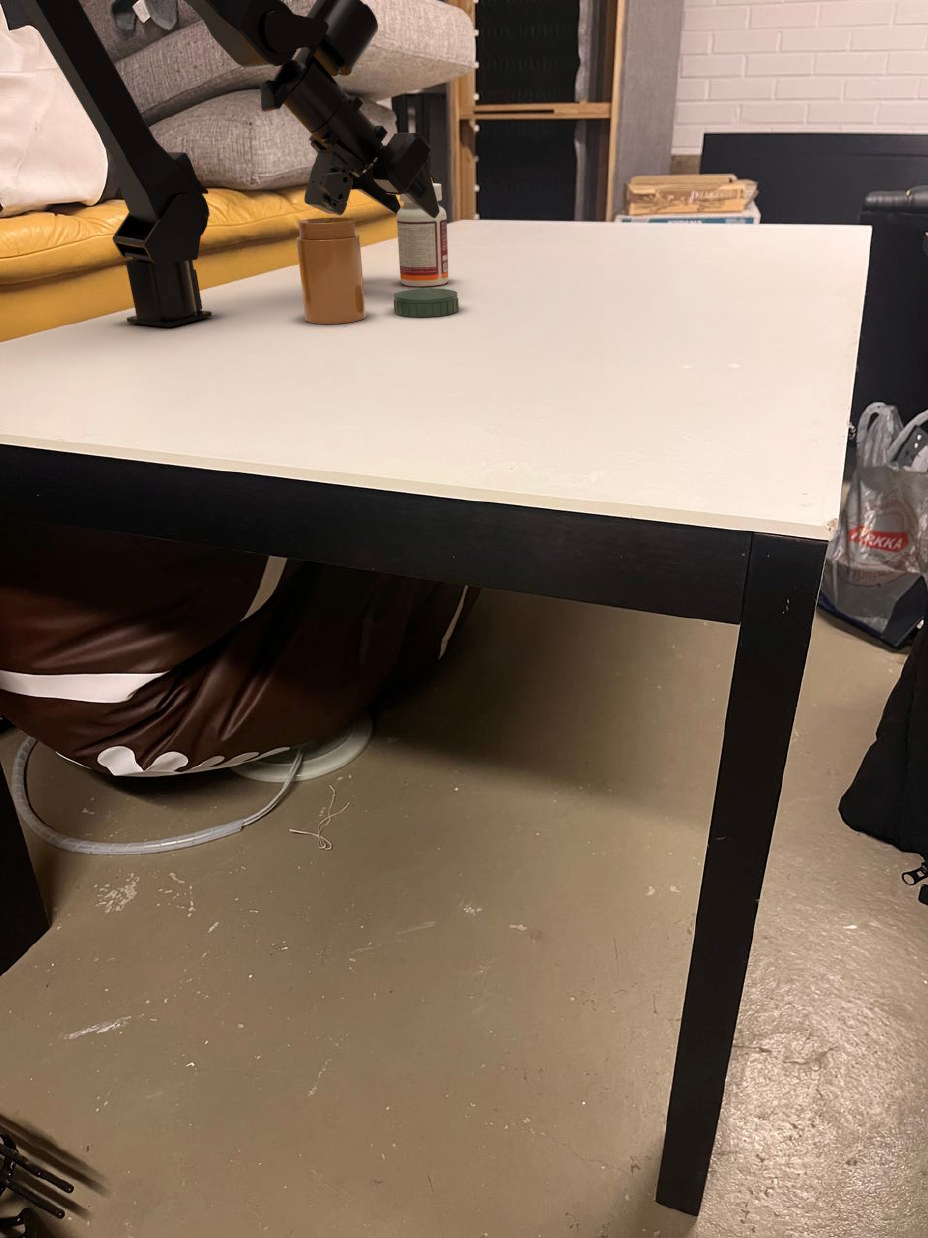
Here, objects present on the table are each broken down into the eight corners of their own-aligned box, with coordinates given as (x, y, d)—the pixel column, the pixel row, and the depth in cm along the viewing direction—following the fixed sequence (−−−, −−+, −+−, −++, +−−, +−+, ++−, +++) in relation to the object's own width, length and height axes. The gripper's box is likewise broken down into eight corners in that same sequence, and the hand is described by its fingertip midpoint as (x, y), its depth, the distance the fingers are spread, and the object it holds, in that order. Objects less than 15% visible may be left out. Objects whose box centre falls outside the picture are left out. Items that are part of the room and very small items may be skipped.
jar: (341, 326, 89) (332, 224, 84) (292, 321, 92) (281, 222, 87) (377, 314, 94) (370, 217, 89) (330, 310, 97) (321, 216, 92)
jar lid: (422, 302, 99) (422, 286, 98) (471, 308, 95) (471, 291, 95) (381, 313, 95) (380, 295, 94) (430, 319, 91) (429, 301, 90)
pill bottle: (429, 277, 115) (425, 181, 110) (458, 282, 111) (455, 183, 105) (390, 283, 112) (384, 185, 106) (419, 288, 108) (414, 186, 102)
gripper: (252, 169, 103) (345, 259, 114) (321, 173, 90) (418, 275, 100) (305, 90, 103) (393, 188, 114) (382, 83, 89) (474, 195, 100)
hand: (416, 212), depth 107 cm, fingers open, 9 cm apart
